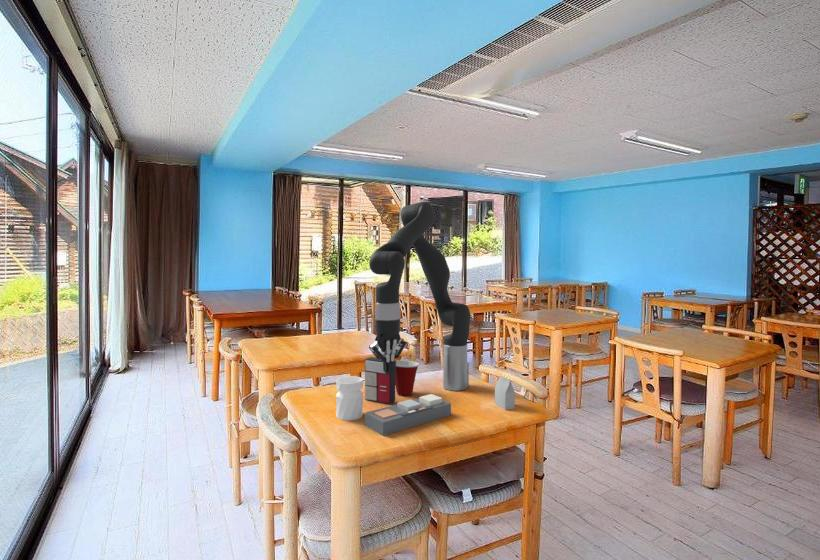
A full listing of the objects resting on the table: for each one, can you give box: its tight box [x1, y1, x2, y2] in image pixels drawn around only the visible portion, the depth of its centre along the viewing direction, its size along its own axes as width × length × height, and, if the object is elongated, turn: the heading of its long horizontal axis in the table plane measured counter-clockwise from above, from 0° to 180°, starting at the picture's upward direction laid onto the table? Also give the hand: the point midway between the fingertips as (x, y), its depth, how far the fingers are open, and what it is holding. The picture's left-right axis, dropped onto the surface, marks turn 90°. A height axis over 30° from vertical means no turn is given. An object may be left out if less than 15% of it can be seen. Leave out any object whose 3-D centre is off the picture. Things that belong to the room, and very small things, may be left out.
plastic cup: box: [395, 360, 420, 397], centre depth 176 cm, size 11×11×12 cm
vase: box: [335, 375, 364, 422], centre depth 153 cm, size 9×9×12 cm
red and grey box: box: [364, 356, 397, 405], centre depth 168 cm, size 11×4×15 cm, turn 62°
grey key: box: [396, 399, 421, 412], centre depth 149 cm, size 5×5×3 cm
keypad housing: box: [364, 398, 452, 436], centre depth 150 cm, size 27×10×4 cm, turn 128°
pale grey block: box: [494, 375, 516, 411], centre depth 162 cm, size 4×7×10 cm, turn 21°
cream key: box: [418, 393, 443, 406], centre depth 155 cm, size 5×5×3 cm
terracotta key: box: [374, 409, 398, 419], centre depth 144 cm, size 5×5×3 cm
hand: (388, 373), depth 144 cm, fingers closed
